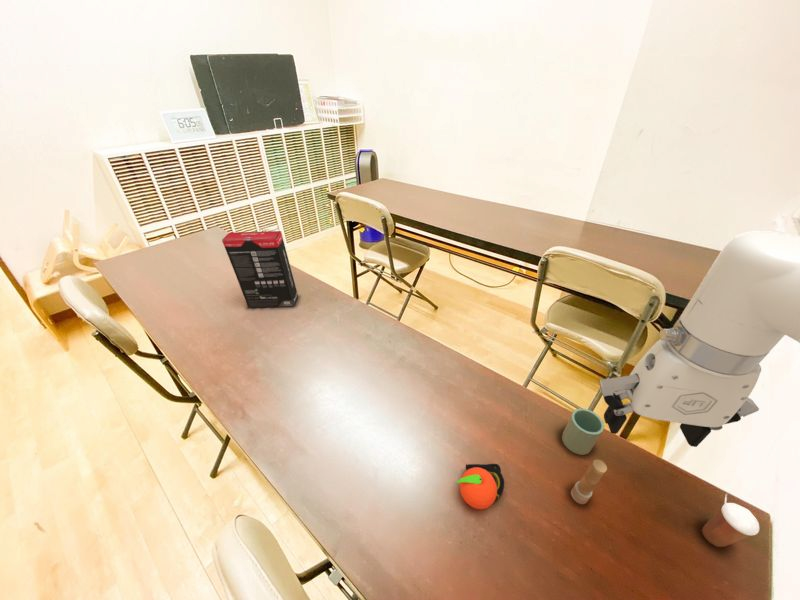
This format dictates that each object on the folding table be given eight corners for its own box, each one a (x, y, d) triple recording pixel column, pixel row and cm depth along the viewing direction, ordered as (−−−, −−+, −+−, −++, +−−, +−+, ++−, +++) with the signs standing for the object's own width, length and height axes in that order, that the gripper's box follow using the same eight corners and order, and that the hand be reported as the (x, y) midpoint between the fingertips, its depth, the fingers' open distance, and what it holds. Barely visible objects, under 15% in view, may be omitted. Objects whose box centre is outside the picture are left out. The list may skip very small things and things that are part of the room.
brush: (591, 499, 62) (613, 469, 55) (580, 507, 61) (602, 477, 54) (577, 484, 64) (597, 454, 57) (567, 492, 63) (586, 462, 56)
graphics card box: (300, 296, 120) (281, 228, 104) (295, 307, 114) (275, 237, 98) (254, 298, 120) (228, 230, 104) (247, 310, 114) (219, 240, 98)
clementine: (454, 514, 61) (457, 498, 57) (451, 476, 66) (454, 459, 62) (497, 516, 60) (503, 500, 56) (490, 477, 66) (496, 460, 62)
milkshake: (704, 513, 60) (736, 488, 54) (736, 546, 56) (774, 523, 50) (686, 522, 59) (716, 498, 53) (717, 556, 55) (754, 535, 49)
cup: (597, 446, 70) (610, 426, 66) (578, 459, 68) (590, 439, 64) (574, 424, 75) (584, 404, 70) (555, 436, 73) (565, 415, 68)
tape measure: (497, 469, 67) (500, 460, 65) (505, 506, 62) (508, 497, 60) (465, 469, 68) (466, 460, 65) (469, 505, 62) (471, 497, 60)
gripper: (638, 357, 34) (588, 444, 44) (839, 381, 31) (735, 469, 41) (616, 313, 40) (576, 399, 50) (783, 330, 37) (704, 417, 47)
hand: (647, 430), depth 46 cm, fingers open, 9 cm apart
